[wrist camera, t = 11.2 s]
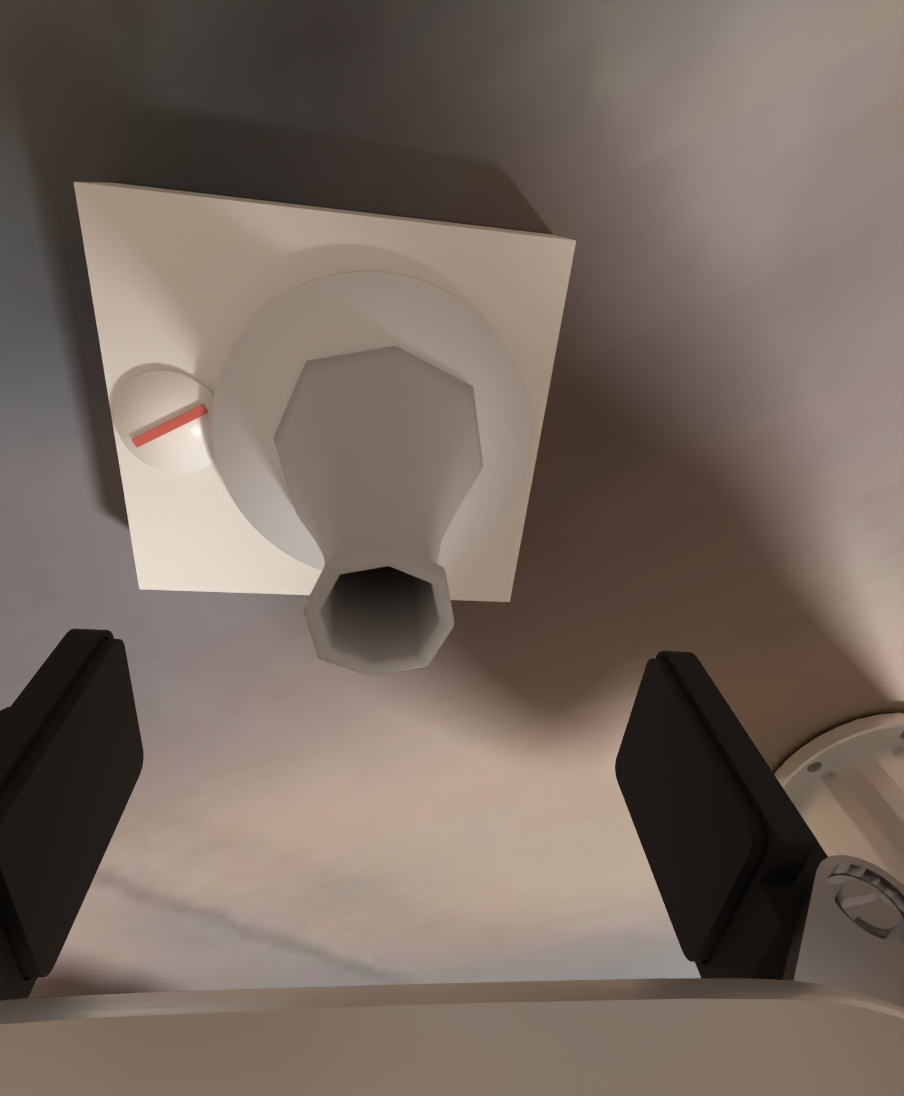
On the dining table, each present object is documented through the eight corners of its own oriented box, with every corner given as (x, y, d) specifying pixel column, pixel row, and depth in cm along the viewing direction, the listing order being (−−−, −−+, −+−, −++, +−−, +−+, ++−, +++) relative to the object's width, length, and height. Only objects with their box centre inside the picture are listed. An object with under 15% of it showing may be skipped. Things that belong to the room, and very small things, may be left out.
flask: (270, 528, 23) (203, 733, 14) (279, 324, 20) (197, 433, 11) (463, 549, 24) (508, 750, 16) (504, 361, 21) (590, 485, 12)
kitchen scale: (554, 234, 23) (584, 243, 19) (498, 565, 29) (514, 616, 26) (112, 182, 21) (57, 181, 17) (162, 551, 27) (130, 603, 24)
